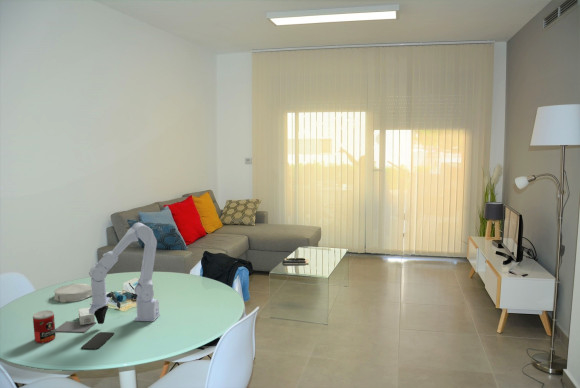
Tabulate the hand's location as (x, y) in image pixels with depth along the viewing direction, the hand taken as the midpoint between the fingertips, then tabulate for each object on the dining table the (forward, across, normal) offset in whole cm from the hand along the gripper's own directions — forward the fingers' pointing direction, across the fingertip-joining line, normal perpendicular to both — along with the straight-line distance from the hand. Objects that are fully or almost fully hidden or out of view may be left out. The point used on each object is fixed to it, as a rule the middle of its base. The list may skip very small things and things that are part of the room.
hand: (101, 323), depth 198 cm
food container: (+3, -38, -34) cm, 51 cm away
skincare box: (0, -2, -7) cm, 7 cm away
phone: (+3, +12, +5) cm, 13 cm away
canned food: (+2, +12, -18) cm, 22 cm away
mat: (+2, 0, -12) cm, 12 cm away
